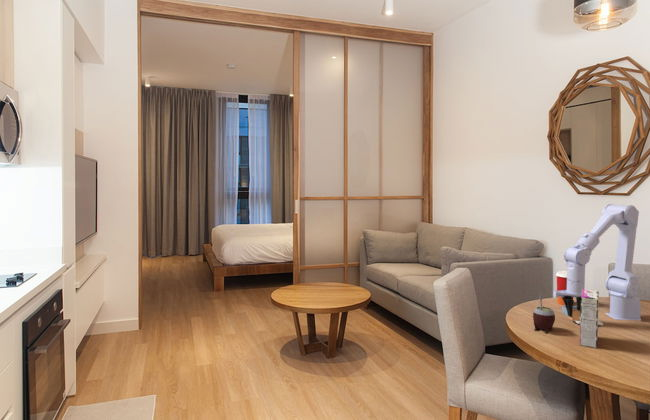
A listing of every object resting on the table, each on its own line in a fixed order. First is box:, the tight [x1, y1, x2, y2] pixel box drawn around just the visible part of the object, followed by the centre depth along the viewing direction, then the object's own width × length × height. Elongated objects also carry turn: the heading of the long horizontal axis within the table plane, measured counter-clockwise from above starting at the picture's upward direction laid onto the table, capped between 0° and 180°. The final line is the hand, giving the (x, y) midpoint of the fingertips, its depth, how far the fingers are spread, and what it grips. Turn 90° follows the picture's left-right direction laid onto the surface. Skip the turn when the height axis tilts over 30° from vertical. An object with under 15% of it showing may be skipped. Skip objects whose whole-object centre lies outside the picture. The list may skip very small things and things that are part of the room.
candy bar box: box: [579, 288, 600, 349], centre depth 145 cm, size 11×5×16 cm, turn 148°
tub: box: [561, 305, 577, 318], centre depth 173 cm, size 8×6×3 cm
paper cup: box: [555, 270, 574, 306], centre depth 187 cm, size 8×8×14 cm
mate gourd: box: [532, 292, 556, 335], centre depth 156 cm, size 8×8×15 cm
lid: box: [568, 309, 604, 326], centre depth 163 cm, size 10×7×5 cm
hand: (574, 316), depth 163 cm, fingers closed on lid, 3 cm apart
